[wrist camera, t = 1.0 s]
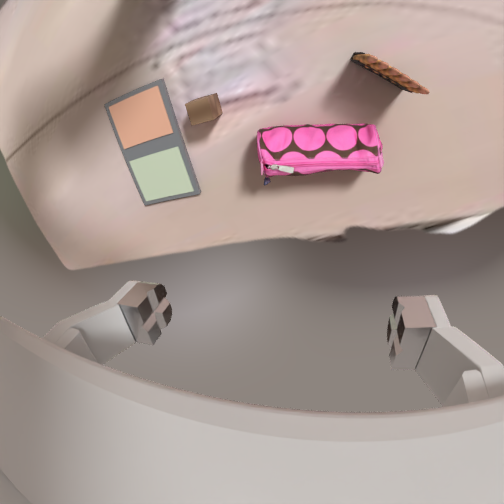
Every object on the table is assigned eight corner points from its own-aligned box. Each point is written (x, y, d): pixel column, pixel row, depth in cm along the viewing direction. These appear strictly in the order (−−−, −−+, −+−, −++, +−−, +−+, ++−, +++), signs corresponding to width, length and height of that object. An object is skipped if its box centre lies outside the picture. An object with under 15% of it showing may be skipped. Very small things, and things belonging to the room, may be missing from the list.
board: (107, 103, 46) (103, 104, 45) (163, 78, 42) (160, 79, 41) (146, 203, 61) (144, 206, 60) (201, 191, 57) (199, 194, 56)
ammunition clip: (406, 81, 36) (436, 90, 27) (402, 89, 38) (431, 101, 28) (354, 52, 35) (372, 50, 26) (350, 60, 37) (367, 61, 27)
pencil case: (266, 172, 53) (261, 196, 45) (257, 125, 47) (249, 140, 39) (376, 163, 48) (391, 186, 40) (374, 115, 42) (391, 128, 34)
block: (196, 98, 45) (184, 104, 40) (216, 92, 44) (207, 97, 39) (202, 118, 47) (191, 125, 42) (222, 112, 46) (214, 119, 41)
